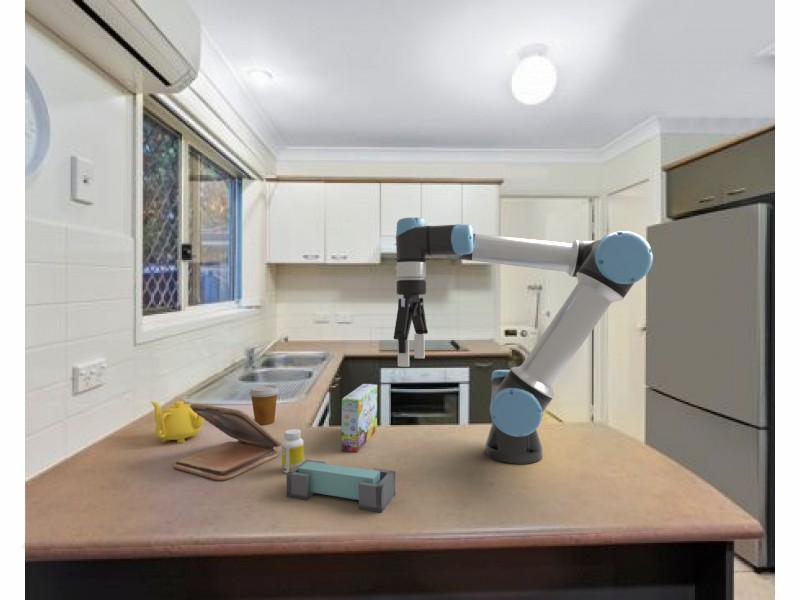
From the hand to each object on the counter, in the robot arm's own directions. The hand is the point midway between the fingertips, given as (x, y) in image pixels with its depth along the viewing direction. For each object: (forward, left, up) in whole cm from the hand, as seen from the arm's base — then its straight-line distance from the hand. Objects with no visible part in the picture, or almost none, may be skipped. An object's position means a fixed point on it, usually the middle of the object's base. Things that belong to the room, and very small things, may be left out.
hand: (412, 362), depth 113 cm
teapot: (+75, +3, -27) cm, 80 cm away
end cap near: (+1, +21, -27) cm, 34 cm away
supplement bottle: (+28, +12, -27) cm, 41 cm away
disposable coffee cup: (+60, -20, -27) cm, 69 cm away
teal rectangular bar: (+10, +21, -26) cm, 35 cm away
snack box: (+21, -14, -27) cm, 37 cm away
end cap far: (+19, +21, -27) cm, 39 cm away
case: (+48, +12, -27) cm, 56 cm away
